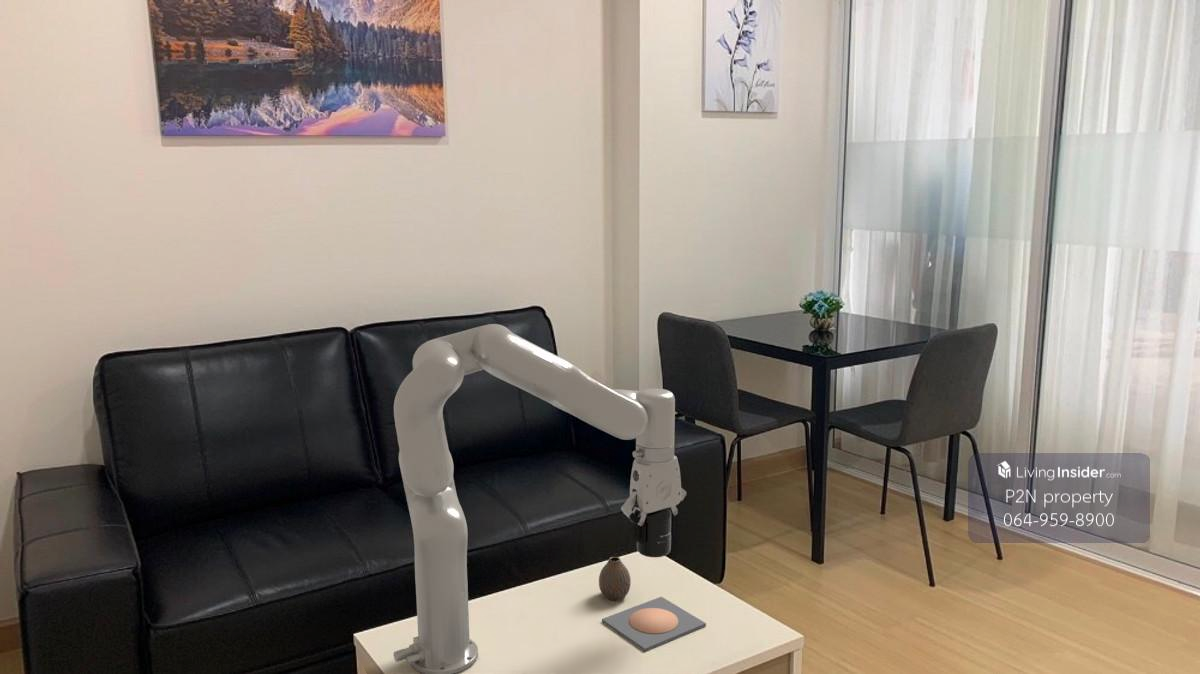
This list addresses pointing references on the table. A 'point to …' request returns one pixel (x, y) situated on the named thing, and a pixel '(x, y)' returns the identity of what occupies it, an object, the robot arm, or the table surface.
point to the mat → (653, 623)
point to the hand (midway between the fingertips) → (654, 536)
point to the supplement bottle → (657, 534)
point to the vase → (614, 580)
